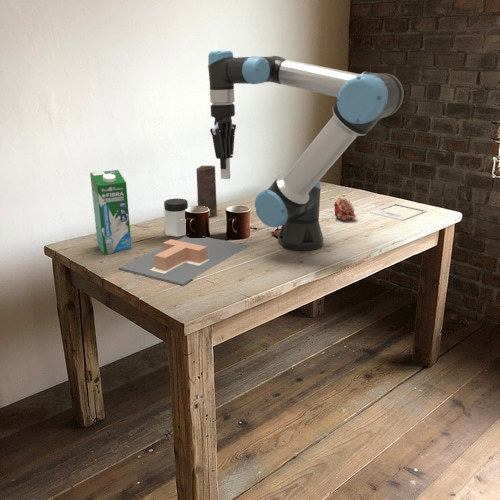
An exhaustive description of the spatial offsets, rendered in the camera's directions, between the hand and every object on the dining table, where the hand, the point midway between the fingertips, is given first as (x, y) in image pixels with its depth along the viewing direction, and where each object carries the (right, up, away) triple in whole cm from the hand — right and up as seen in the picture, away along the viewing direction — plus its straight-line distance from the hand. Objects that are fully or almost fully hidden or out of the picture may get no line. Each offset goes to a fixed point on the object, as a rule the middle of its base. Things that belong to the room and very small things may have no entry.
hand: (225, 178), depth 176 cm
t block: (-15, -27, -11) cm, 33 cm away
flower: (+44, -12, +32) cm, 56 cm away
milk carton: (-37, -23, +3) cm, 43 cm away
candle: (-9, -10, +36) cm, 39 cm away
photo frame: (+67, -9, +41) cm, 79 cm away
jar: (-18, -18, +16) cm, 30 cm away
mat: (-12, -26, -6) cm, 29 cm away
